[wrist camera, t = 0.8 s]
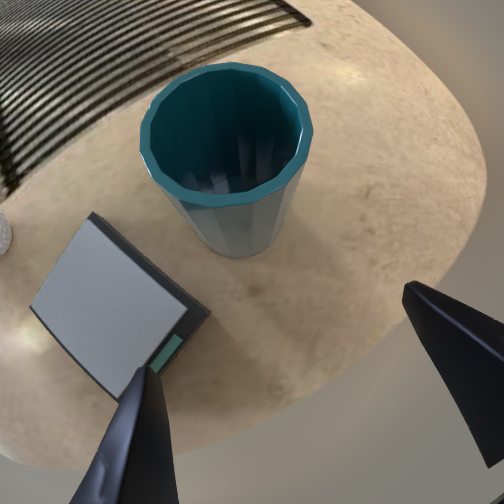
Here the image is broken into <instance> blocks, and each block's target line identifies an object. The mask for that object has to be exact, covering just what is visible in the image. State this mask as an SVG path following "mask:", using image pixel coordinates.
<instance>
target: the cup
mask: <svg viewBox="0 0 504 504" xmlns="http://www.w3.org/2000/svg"><path fill="white" fill-rule="evenodd" d="M312 136H313V126H312V122H311V118H310V114H309V110H308V106H307V104H306V102H305V101H304V99H303V98H302V97H301V96H300V94H299V93H298V92H297V91H296V90H295V88H294V87H293V86H292V85H291V84H290V82H288V81H287V80H285V79H284V78H282V77H280V76H278V75H277V74H275V73H273V72H271V71H269V70H267V69H265V68H263V67H259V66H254V65H248V64H243V63H237V62H228V63H220V64H212V65H205V66H201V67H199V68H197V69H194V70H192V71H190V72H188V73H186V74H183V75H181V76H179V77H177V78H176V79H174V80H173V81H172V82H171V83H169V84H168V85H167V86H166V87H165V88H164V89H163V90H162V91H161V92H160V93H159V94H158V95H156V96H155V97H154V99H153V100H152V102H151V104H150V106H149V108H148V110H147V112H146V114H145V116H144V118H143V120H142V122H141V126H140V155H141V157H142V159H143V161H144V163H145V165H146V167H147V169H148V172H149V174H150V176H151V178H152V179H153V180H154V182H155V183H156V184H157V186H158V187H159V188H160V189H161V191H162V192H163V193H164V194H165V196H166V197H167V198H168V200H169V201H170V202H171V203H172V205H173V206H174V207H175V208H176V210H177V211H178V212H179V213H180V215H181V216H182V217H183V218H184V220H185V221H186V222H187V223H188V225H189V226H190V227H191V228H192V230H193V231H194V232H195V233H196V234H197V236H198V237H199V238H200V239H201V241H202V242H203V243H204V244H206V245H207V246H208V247H209V248H210V249H211V250H213V251H214V252H216V253H218V254H220V255H223V256H225V257H230V258H245V257H250V256H253V255H256V254H258V253H260V252H261V251H263V250H264V249H266V248H267V247H268V246H269V245H270V244H271V243H272V242H273V241H274V239H275V238H276V236H277V235H278V233H279V231H280V229H281V226H282V224H283V221H284V218H285V216H286V213H287V211H288V208H289V205H290V203H291V200H292V198H293V195H294V192H295V190H296V187H297V184H298V182H299V179H300V176H301V174H302V171H303V169H304V166H305V163H306V161H307V157H308V153H309V149H310V145H311V140H312Z"/></svg>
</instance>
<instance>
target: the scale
mask: <svg viewBox="0 0 504 504" xmlns="http://www.w3.org/2000/svg"><path fill="white" fill-rule="evenodd" d="M29 308H30V309H31V310H32V312H33V313H34V314H35V315H36V317H37V318H38V319H39V320H40V322H41V323H42V324H43V325H44V327H45V328H46V329H47V330H48V331H49V333H50V334H51V335H52V336H53V337H54V338H55V340H56V341H57V342H58V343H59V344H60V345H61V346H62V348H63V349H64V350H65V351H66V352H67V353H68V354H69V355H70V356H71V357H72V359H73V360H74V361H75V362H76V363H77V364H78V365H79V366H80V367H81V368H82V369H83V370H84V371H85V372H86V373H87V374H88V375H89V376H90V377H91V378H92V379H93V380H94V381H95V382H96V383H97V384H98V385H99V386H100V387H101V388H102V389H103V390H104V391H105V392H106V393H108V394H109V395H110V396H111V397H112V398H113V399H114V400H115V401H116V402H117V403H120V401H121V399H122V397H123V395H124V393H125V391H126V389H127V387H128V385H129V383H130V381H131V379H132V377H133V375H134V373H135V371H136V369H137V368H138V367H141V366H146V365H149V366H150V367H151V368H152V369H153V370H154V372H155V373H156V374H157V375H158V377H160V376H161V375H162V373H163V372H164V371H165V370H166V368H167V367H168V366H169V365H170V363H171V362H172V361H173V360H174V358H175V357H176V356H177V355H178V353H179V352H180V351H181V350H182V348H183V347H184V346H185V345H186V343H187V342H188V341H189V339H190V338H191V337H192V336H193V334H194V333H195V332H196V331H197V329H198V328H199V327H200V326H201V324H202V323H203V322H204V321H205V319H206V318H207V317H208V316H209V314H210V313H211V312H210V311H209V310H208V309H207V308H206V307H204V306H203V305H202V304H201V303H199V302H198V301H197V300H196V299H194V298H193V297H192V296H191V295H190V294H188V293H187V292H186V291H185V290H184V289H182V288H181V287H180V286H179V285H178V284H176V283H175V282H174V281H173V280H172V279H171V278H169V277H168V276H167V275H166V274H165V273H164V272H162V271H161V270H160V269H159V268H158V267H157V266H155V265H154V264H153V263H152V262H151V261H150V260H149V259H147V258H146V257H145V256H144V255H143V254H142V253H141V252H140V251H138V250H137V249H136V248H135V247H134V246H133V245H132V244H131V243H129V242H128V241H127V240H126V239H125V238H124V237H123V236H122V235H121V234H120V233H119V232H117V231H116V230H115V229H114V228H113V227H112V226H111V225H110V224H109V223H108V222H107V221H106V220H105V219H104V218H102V217H100V216H99V215H97V214H96V213H94V212H92V213H91V214H90V215H89V217H88V218H87V219H86V221H85V222H84V223H83V225H82V226H81V227H80V229H79V230H78V232H77V233H76V234H75V236H74V237H73V239H72V240H71V242H70V243H69V244H68V246H67V247H66V249H65V250H64V252H63V253H62V255H61V256H60V258H59V259H58V261H57V262H56V264H55V265H54V267H53V269H52V270H51V272H50V273H49V275H48V276H47V278H46V280H45V281H44V283H43V285H42V286H41V288H40V289H39V291H38V293H37V295H36V296H35V298H34V300H33V301H32V303H31V305H30V307H29Z"/></svg>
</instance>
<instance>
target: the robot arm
mask: <svg viewBox="0 0 504 504" xmlns="http://www.w3.org/2000/svg"><path fill="white" fill-rule="evenodd" d="M402 304H403V307H404V309H405V311H406V313H407V315H408V317H409V319H410V321H411V323H412V325H413V327H414V329H415V331H416V334H417V336H418V337H419V340H420V341H421V343H422V345H423V346H424V348H425V350H426V351H427V353H428V355H429V356H430V358H431V360H432V362H433V363H434V365H435V367H436V368H437V370H438V372H439V373H440V375H441V377H442V379H443V380H444V382H445V384H446V386H447V388H448V389H449V391H450V393H451V395H452V397H453V399H454V400H455V402H456V404H457V406H458V408H459V410H460V412H461V414H462V416H463V417H464V419H465V421H466V423H467V425H468V426H469V430H470V431H471V434H472V436H473V438H474V440H475V442H476V444H477V446H478V448H479V450H480V452H481V454H482V456H483V459H484V461H485V463H486V465H487V467H488V468H491V467H492V466H494V465H495V464H497V463H498V462H500V461H501V460H503V459H504V324H503V323H501V322H499V321H497V320H494V319H493V318H491V317H489V316H487V315H485V314H483V313H482V312H479V311H477V310H475V309H474V308H472V307H470V306H467V305H466V304H464V303H461V302H459V301H457V300H455V299H453V298H451V297H449V296H447V295H445V294H443V293H441V292H439V291H437V290H435V289H433V288H431V287H429V286H426V285H424V284H422V283H420V282H418V281H411V282H409V283H406V284H405V286H404V291H403V297H402ZM69 504H179V501H178V494H177V487H176V480H175V473H174V464H173V455H172V446H171V436H170V426H169V419H168V414H167V409H166V404H165V399H164V394H163V388H162V383H161V380H160V378H159V377H158V375H157V374H156V373H155V372H154V370H153V369H152V368H151V367H150V366H149V365H146V366H141V367H138V368H137V369H136V371H135V373H134V375H133V377H132V379H131V381H130V383H129V385H128V387H127V389H126V391H125V393H124V395H123V397H122V399H121V401H120V403H119V406H118V408H117V410H116V412H115V414H114V416H113V418H112V420H111V422H110V424H109V426H108V428H107V431H106V433H105V435H104V437H103V439H102V441H101V443H100V446H99V448H98V451H97V452H96V454H95V456H94V459H93V461H92V463H91V465H90V467H89V469H88V471H87V473H86V475H85V477H84V479H83V480H82V482H81V484H80V486H79V487H78V489H77V491H76V492H75V494H74V496H73V498H72V499H71V501H70V503H69ZM490 504H504V493H503V494H502V495H500V496H499V497H498V498H497V499H495V500H494V501H493V502H491V503H490Z"/></svg>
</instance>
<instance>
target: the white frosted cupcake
mask: <svg viewBox="0 0 504 504" xmlns="http://www.w3.org/2000/svg"><path fill="white" fill-rule="evenodd" d="M11 237H12V232H11V228H10V226H9V224H8V222H7V220H6V218H5V216H4V215H3V213H2V211H1V210H0V256H1V255H3V254H4V253H5V252H6V251H7V249H8V248H9V246H10V243H11V240H12V238H11Z"/></svg>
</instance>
